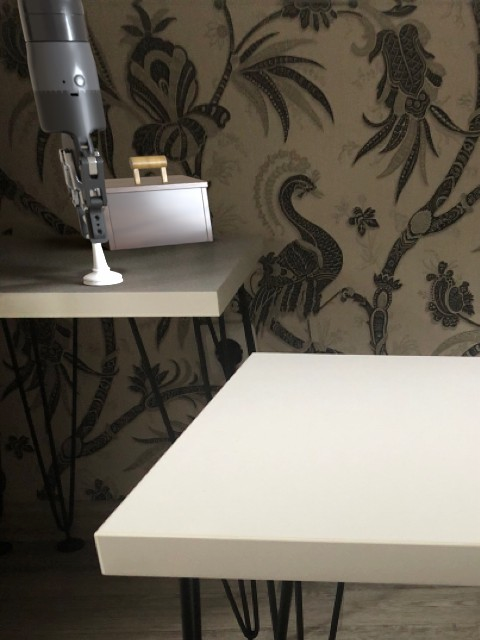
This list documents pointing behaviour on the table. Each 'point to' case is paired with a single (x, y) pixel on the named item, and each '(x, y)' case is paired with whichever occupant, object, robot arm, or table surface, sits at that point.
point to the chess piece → (100, 269)
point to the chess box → (157, 218)
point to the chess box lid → (151, 178)
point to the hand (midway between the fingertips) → (95, 239)
